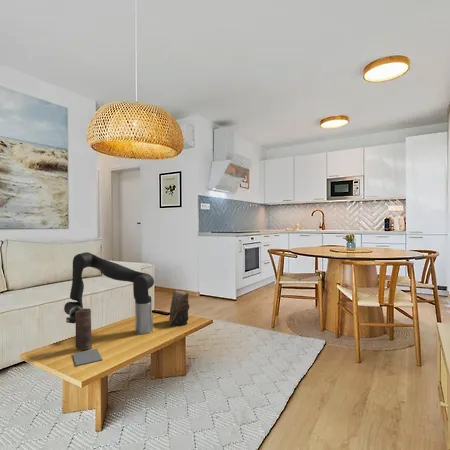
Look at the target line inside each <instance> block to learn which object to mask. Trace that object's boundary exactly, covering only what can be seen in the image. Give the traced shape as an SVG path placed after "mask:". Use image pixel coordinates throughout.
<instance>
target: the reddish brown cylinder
mask: <svg viewBox="0 0 450 450" xmlns="http://www.w3.org/2000/svg"><path fill="white" fill-rule="evenodd" d="M75 322H76V323H75V349H77V350H92V349H93V347H92V346H93V342H92V341H93V340H92V339H93V338H92V337H93V336H92V309H91V308H84V307H83V309H80V310H78V311H76V312H75Z"/></svg>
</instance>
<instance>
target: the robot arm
mask: <svg viewBox="0 0 450 450" xmlns="http://www.w3.org/2000/svg"><path fill="white" fill-rule="evenodd" d="M86 268H93V269H96V270H98V271H100V272H101V274H102V275H103V276H104V277H106V278H109V279H111V280H115V281H119V282H128V283H129V282H130V283H133V284H132V287H133V289H132V290H133V291H132V292H133V298H134V303H135V304H134V308H135V309H134V315H135V318H134V319H135V321H134V323H135V326H134V327H135V329H134V332H135V334H138V335H146V334H149V333H151V332H154V331H153V330H154V327H153V326H154V319H153V318H154V316H153V314H152V312H153V311H152V310H153V309H152V307H153V306H152V303H153V301H152V296H151V295H149V290H150V289H151V288H152V287H153V286H154V284H155V279H154V277H153V276H152V275H151V274H149V273H146V272H141V271H136V270H134V269H131V268H129V267H126V266H124V265H121V264H119V263H115V262H114V261H110V260H108V259H103V258H101V257H99V256H97V255H95V254H93V253H92V252H91V253H90V252H89V251H88V252H86V251H85V252H83V253H78V254H76V255H74V256H73V259H72V274H71V275H72V277H71V278H72V281H71V288H70V295H69V298H70V299H71V300H72V301H68V302H66V303H65V304H64V307H63V309H64V313H65V314H67V315H68V317H66V318H65V320H66V321H65V322H66V323H67V324H68V323H69V324H76V322H75V312H76V311H78V310H80V309H83V308H84V306H83V305H84V303H83V294H84V289H85V285H84V284H85V283H84V280H83V277H82V276H83V271H84V269H86Z"/></svg>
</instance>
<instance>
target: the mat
mask: <svg viewBox="0 0 450 450" xmlns="http://www.w3.org/2000/svg"><path fill="white" fill-rule="evenodd" d="M72 357H73V360H74V361H73V362H74V364H75V367H80V366H85V365H88V364H93V363H97V362H102V361H103V358H102V355H101V354H100V352H99V350H98V348H94V349H93V348H92V349H87V350H84V351H78V352H73V353H72Z"/></svg>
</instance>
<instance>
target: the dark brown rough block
mask: <svg viewBox="0 0 450 450" xmlns="http://www.w3.org/2000/svg"><path fill="white" fill-rule="evenodd" d="M189 295H190V294H189V292H187V291H186V290H184V291H182V290H181V291H180V290H177V289H173V294H172V298H171V303H170V310H169V318H168V319H169V320H168V322H169V325H168V326H169V327H179V326H180V327H181V326H187V325H188V321H189V310H190V304H189Z"/></svg>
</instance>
